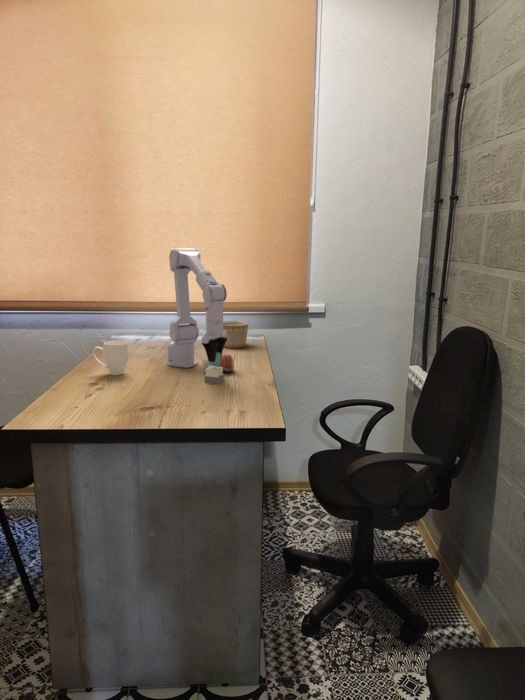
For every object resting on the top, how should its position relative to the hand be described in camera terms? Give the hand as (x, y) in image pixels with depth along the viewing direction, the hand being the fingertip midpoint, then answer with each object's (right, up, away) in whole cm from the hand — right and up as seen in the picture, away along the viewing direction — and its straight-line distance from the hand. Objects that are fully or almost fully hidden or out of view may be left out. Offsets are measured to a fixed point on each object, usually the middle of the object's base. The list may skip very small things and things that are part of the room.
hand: (214, 360), depth 171 cm
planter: (+3, +5, +55) cm, 55 cm away
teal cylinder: (0, -2, 0) cm, 2 cm away
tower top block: (0, -5, +1) cm, 5 cm away
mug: (-37, -5, +8) cm, 39 cm away
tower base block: (0, -8, +2) cm, 8 cm away
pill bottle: (+6, -1, +14) cm, 15 cm away
